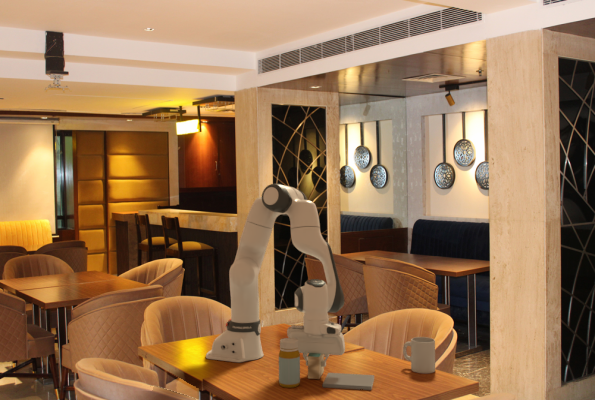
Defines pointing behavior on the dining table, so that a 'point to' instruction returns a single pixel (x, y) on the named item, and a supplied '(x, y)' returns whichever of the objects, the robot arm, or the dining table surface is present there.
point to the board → (349, 381)
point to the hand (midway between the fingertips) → (316, 365)
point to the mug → (421, 354)
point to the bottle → (289, 363)
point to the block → (315, 365)
